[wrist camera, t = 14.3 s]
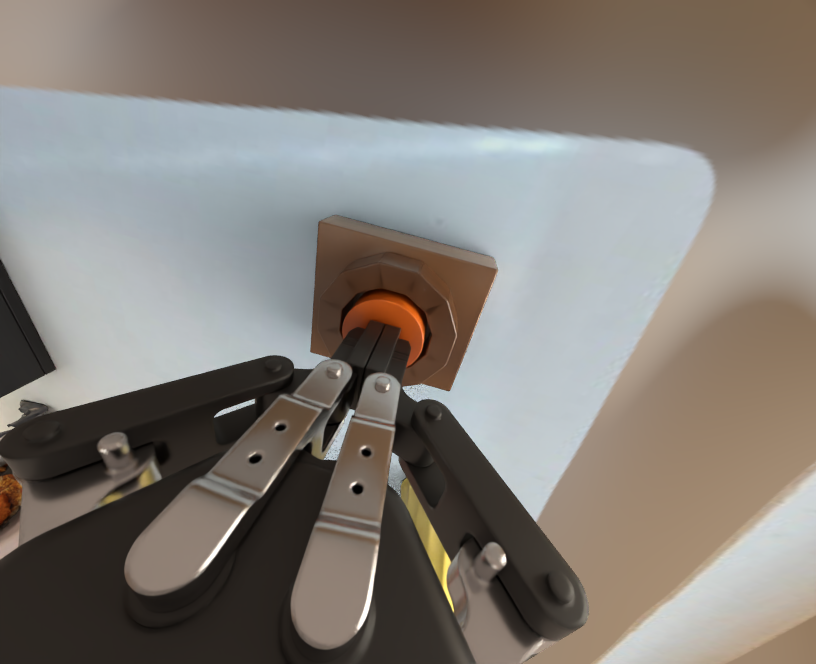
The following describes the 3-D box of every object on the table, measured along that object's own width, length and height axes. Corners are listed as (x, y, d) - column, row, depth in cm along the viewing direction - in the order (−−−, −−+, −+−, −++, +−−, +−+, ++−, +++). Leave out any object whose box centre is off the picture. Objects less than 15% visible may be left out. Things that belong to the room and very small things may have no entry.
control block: (334, 214, 16) (300, 227, 13) (494, 257, 16) (503, 283, 13) (323, 334, 20) (295, 369, 17) (451, 370, 20) (448, 413, 17)
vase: (431, 517, 29) (408, 776, 17) (387, 483, 27) (327, 742, 15) (482, 499, 26) (499, 791, 14) (437, 460, 25) (412, 751, 12)
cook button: (358, 276, 15) (346, 289, 13) (436, 298, 15) (432, 313, 13) (349, 341, 17) (338, 359, 15) (417, 361, 17) (412, 380, 15)
